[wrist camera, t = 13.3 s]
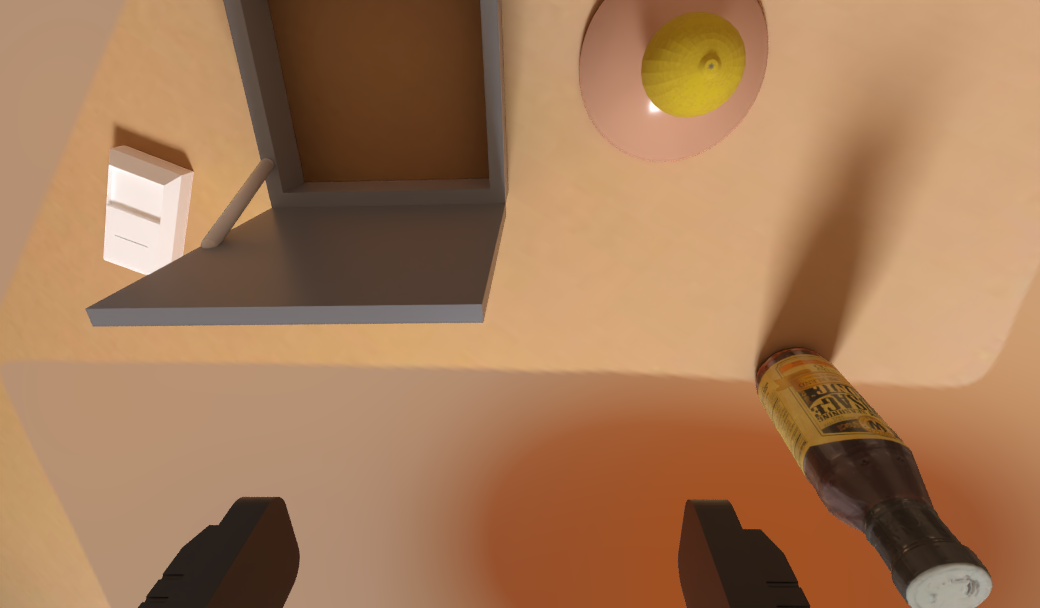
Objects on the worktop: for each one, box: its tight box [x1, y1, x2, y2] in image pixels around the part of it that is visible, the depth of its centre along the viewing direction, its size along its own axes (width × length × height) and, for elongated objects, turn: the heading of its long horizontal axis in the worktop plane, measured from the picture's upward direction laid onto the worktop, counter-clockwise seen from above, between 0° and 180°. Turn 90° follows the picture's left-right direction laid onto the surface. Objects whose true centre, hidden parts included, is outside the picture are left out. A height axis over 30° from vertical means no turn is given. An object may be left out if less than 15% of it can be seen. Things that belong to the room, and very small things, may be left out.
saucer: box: [579, 0, 768, 162], centre depth 34 cm, size 12×12×1 cm
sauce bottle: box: [756, 348, 993, 608], centre depth 35 cm, size 7×6×20 cm
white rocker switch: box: [104, 145, 194, 275], centre depth 38 cm, size 5×9×3 cm, turn 158°
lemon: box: [641, 11, 746, 118], centre depth 30 cm, size 6×6×8 cm
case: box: [86, 0, 508, 326], centre depth 26 cm, size 17×16×20 cm
